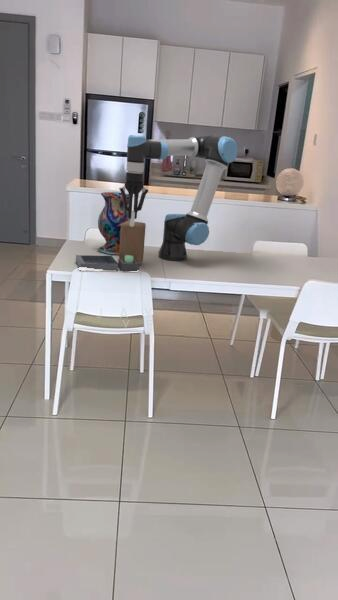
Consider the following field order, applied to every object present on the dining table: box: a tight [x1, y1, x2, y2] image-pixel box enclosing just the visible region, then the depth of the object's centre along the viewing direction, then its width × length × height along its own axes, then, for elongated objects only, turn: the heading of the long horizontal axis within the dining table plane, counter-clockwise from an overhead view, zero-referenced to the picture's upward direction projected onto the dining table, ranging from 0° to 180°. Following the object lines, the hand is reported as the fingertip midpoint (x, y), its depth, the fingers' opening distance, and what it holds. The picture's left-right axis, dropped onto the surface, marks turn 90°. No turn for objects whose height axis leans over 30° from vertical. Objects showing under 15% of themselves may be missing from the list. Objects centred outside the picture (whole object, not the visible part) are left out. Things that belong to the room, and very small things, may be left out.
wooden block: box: [118, 221, 147, 266], centre depth 234 cm, size 10×10×20 cm
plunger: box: [124, 255, 134, 263], centre depth 224 cm, size 4×4×5 cm
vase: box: [97, 191, 130, 255], centre depth 253 cm, size 18×18×30 cm
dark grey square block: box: [117, 258, 140, 272], centre depth 225 cm, size 8×8×4 cm
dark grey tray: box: [75, 254, 119, 272], centre depth 225 cm, size 17×15×4 cm
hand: (131, 225), depth 219 cm, fingers closed
